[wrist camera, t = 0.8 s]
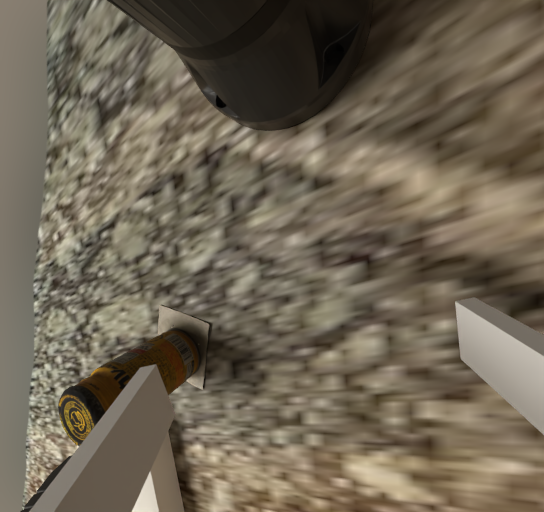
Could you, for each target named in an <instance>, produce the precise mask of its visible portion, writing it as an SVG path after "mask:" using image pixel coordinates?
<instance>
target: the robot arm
mask: <svg viewBox="0 0 544 512" xmlns="http://www.w3.org/2000/svg"><path fill="white" fill-rule="evenodd" d="M107 1H109V2H110V3H111V4H113V5H114V6H116V7H117V8H118V9H120V10H121V11H122V12H124V13H125V14H126V15H128V16H129V17H131V18H132V19H133V20H135V21H136V22H137V23H139V24H140V25H141V26H143V27H144V28H146V29H147V30H148V31H150V32H151V33H152V34H154V35H155V36H156V37H158V38H159V39H161V40H162V41H163V42H165V43H166V44H167V45H169V46H170V47H171V48H173V49H174V50H175V51H176V53H177V54H178V56H179V57H180V59H181V60H182V62H183V63H184V65H185V66H186V68H187V70H188V71H189V73H190V74H191V76H192V77H193V79H194V80H195V82H196V84H197V85H198V87H199V88H200V90H201V91H202V93H203V94H204V96H205V97H206V98H207V99H208V101H209V102H210V103H211V104H212V105H213V106H214V107H215V108H216V109H217V110H219V111H220V112H221V113H223V114H224V115H226V116H227V117H229V118H231V119H232V120H234V121H236V122H237V123H239V124H241V125H243V126H246V127H248V128H252V129H256V130H265V131H270V130H279V129H284V128H288V127H291V126H294V125H297V124H299V123H301V122H303V121H305V120H307V119H309V118H310V117H312V116H313V115H315V114H316V113H318V112H319V111H320V110H321V109H323V108H324V107H325V106H326V105H327V104H328V103H329V102H330V101H332V99H333V98H334V97H335V96H336V95H337V94H338V93H339V92H340V90H341V89H342V88H343V87H344V85H345V84H346V82H347V81H348V79H349V78H350V76H351V75H352V73H353V71H354V70H355V68H356V66H357V64H358V62H359V60H360V58H361V55H362V53H363V50H364V47H365V44H366V41H367V38H368V34H369V30H370V25H371V18H372V7H373V0H107ZM455 304H456V315H457V325H458V336H459V346H460V357H461V360H463V361H464V362H465V363H466V364H467V365H468V366H469V367H470V368H471V369H472V370H474V371H475V372H476V373H477V374H478V375H479V376H480V377H481V378H482V379H483V380H484V381H486V382H487V383H488V384H489V385H490V386H491V387H492V388H493V389H494V390H495V391H496V392H498V393H499V394H500V395H501V396H502V397H503V398H504V399H505V400H506V401H507V402H508V403H510V404H511V405H512V406H513V407H514V408H515V409H516V410H517V411H518V412H519V413H520V414H522V415H523V416H524V417H525V418H526V419H527V420H528V421H529V422H530V423H531V424H533V425H534V426H535V427H536V428H537V429H538V430H539V431H540V432H541V433H542V434H543V435H544V335H543V334H541V333H539V332H537V331H536V330H534V329H532V328H530V327H528V326H526V325H525V324H523V323H521V322H519V321H517V320H515V319H513V318H512V317H510V316H508V315H506V314H504V313H502V312H500V311H499V310H497V309H495V308H493V307H491V306H489V305H488V304H486V303H484V302H482V301H480V300H478V299H476V298H475V297H473V298H469V299H464V300H459V301H455ZM175 415H176V414H175V412H174V409H173V406H172V404H171V401H170V399H169V396H168V394H167V391H166V388H165V386H164V383H163V381H162V378H161V376H160V373H159V370H158V368H157V365H156V364H155V365H150V366H146V367H141V368H139V370H138V371H137V372H136V374H135V375H134V376H133V378H132V379H131V380H130V381H129V383H128V384H127V385H126V387H125V388H124V389H123V391H122V392H121V393H120V394H119V396H118V397H117V398H116V400H115V401H114V402H113V403H112V405H111V406H110V407H109V409H108V410H107V411H106V413H105V414H104V415H103V416H102V418H101V419H100V420H99V422H98V423H97V424H96V426H95V427H94V428H93V429H92V431H91V432H90V433H89V435H88V436H87V437H86V439H85V440H84V441H83V442H82V444H81V445H80V446H79V448H78V449H77V450H76V451H75V453H74V454H73V455H72V456H69V457H68V458H67V459H66V460H65V461H64V462H63V463H61V464H60V465H59V466H58V467H57V468H56V469H55V470H54V471H53V472H52V473H51V474H50V475H49V477H48V478H47V479H46V480H45V482H44V483H43V484H42V485H41V487H40V488H39V489H38V490H37V494H35V495H33V497H32V498H31V499H30V500H29V502H28V503H27V504H26V505H25V508H24V510H23V511H21V512H132V510H133V508H134V506H135V503H136V501H137V499H138V497H139V495H140V492H141V490H142V488H143V486H144V484H145V481H146V479H147V477H148V475H149V472H150V470H151V468H152V466H153V464H154V461H155V459H156V457H157V455H158V452H159V450H160V448H161V446H162V444H163V441H164V439H165V437H166V435H167V433H168V430H169V428H170V426H171V424H172V421H173V419H174V417H175Z"/></svg>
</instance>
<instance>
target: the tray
mask: <svg viewBox="0 0 544 512" xmlns="http://www.w3.org/2000/svg"><path fill="white" fill-rule="evenodd" d="M77 448H79V446H78V445H77ZM132 512H184V507H183V502H182V497H181V492H180V487H179V482H178V477H177V472H176V467H175V462H174V457H173V452H172V447H171V442H170V437H169V432H168V433H167V435H166V437H165V439H164V441H163V444H162V446H161V448H160V450H159V452H158V455H157V457H156V459H155V461H154V464H153V466H152V468H151V470H150V472H149V475H148V477H147V479H146V481H145V484H144V486H143V488H142V490H141V492H140V495H139V497H138V499H137V501H136V503H135V506H134V508H133V510H132Z"/></svg>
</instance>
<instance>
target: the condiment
mask: <svg viewBox="0 0 544 512" xmlns="http://www.w3.org/2000/svg"><path fill="white" fill-rule="evenodd" d="M158 322H159V325H158V336H157V337H155V338H153V339H151V340H149V341H147V342H145V343H143V344H142V345H140V346H138V347H136V348H134V349H132V350H130V351H128V352H127V353H125V354H123V355H121V356H119V357H117V358H115V359H114V360H112V361H110V362H108V363H106V364H104V365H102V366H101V367H99V368H97V369H96V370H95V371H94V372H93V373H92V374H91V376H90V377H88V378H86V379H83V380H82V381H81V382H80V383H79V384H77V385H75V386H72V387H69V388H68V389H66V390H65V391H64V392H63V394H62V396H61V398H60V400H59V406H58V408H59V415H60V420H61V423H62V426H63V428H64V430H65V432H66V433H67V435H68V436H69V438H70V439H71V440H72V441H73V442H74V443H75V444H76V445H78V446H80V445H81V444H82V442H83V441H84V440H85V439H86V437H87V436H88V435H89V433H90V432H91V431H92V429H93V428H94V427H95V426H96V424H97V423H98V422H99V420H100V419H101V418H102V416H103V415H104V414H105V413H106V411H107V410H108V409H109V407H110V406H111V405H112V403H113V402H114V401H115V400H116V398H117V397H118V396H119V394H120V393H121V392H122V391H123V389H124V388H125V387H126V385H127V384H128V383H129V381H130V380H131V379H132V378H133V376H134V375H135V374H136V372H137V371H138V370H139V368H141V367H146V366H150V365H155V364H156V365H157V368H158V370H159V373H160V376H161V378H162V381H163V383H164V386H165V388H166V391H167V394H168V395H169V394H170V393H172V392H173V391H174V390H175V389H177V388H178V387H179V386H180V385H181V384H183V383H184V382H185V381H187V382H189V383H190V384H192V385H194V386H196V387H198V388H200V389H202V390H203V382H204V372H205V366H206V365H205V364H206V350H207V343H208V330H209V324H208V323H205V322H203V321H201V320H199V319H196V318H193V317H191V316H189V315H186V314H183V313H181V312H178V311H175V310H172V309H170V308H167V307H164V306H161V305H160V309H159V320H158ZM173 325H174V326H173ZM171 327H173V328H171ZM198 344H199V345H198Z"/></svg>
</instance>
